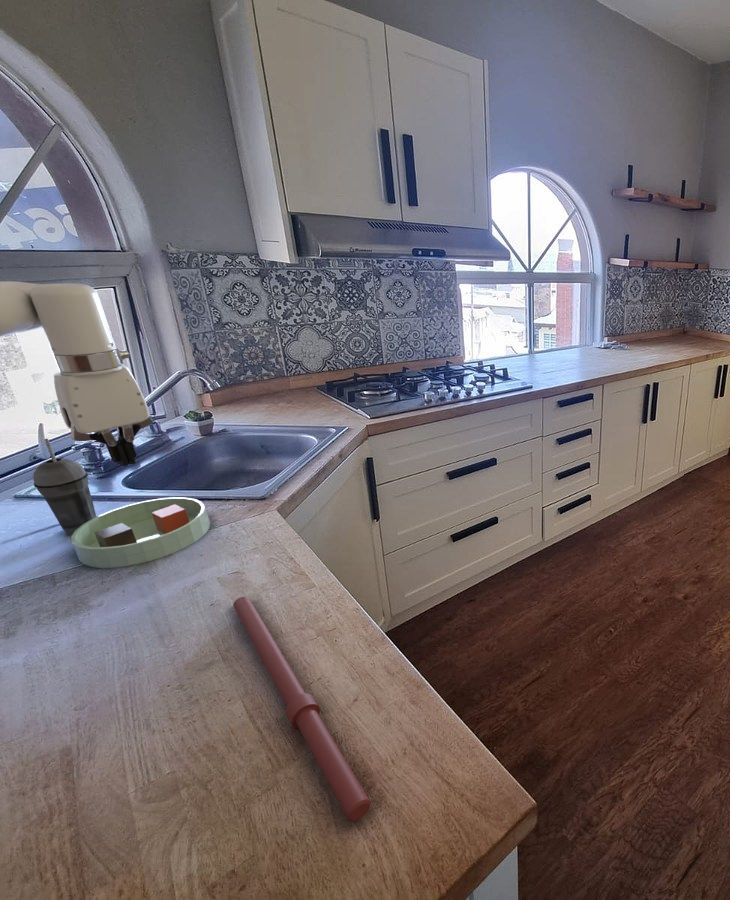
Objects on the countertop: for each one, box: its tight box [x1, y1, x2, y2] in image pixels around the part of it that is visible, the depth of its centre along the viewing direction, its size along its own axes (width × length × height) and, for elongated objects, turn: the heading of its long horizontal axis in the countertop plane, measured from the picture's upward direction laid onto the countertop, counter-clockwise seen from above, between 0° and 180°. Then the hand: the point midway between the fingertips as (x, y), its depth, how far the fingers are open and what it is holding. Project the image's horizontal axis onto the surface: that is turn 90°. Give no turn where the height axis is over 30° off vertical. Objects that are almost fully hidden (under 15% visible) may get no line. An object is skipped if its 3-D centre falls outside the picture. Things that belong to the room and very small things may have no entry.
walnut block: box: [95, 523, 137, 547], centre depth 92 cm, size 4×4×4 cm
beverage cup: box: [32, 438, 97, 536], centre depth 96 cm, size 7×7×20 cm
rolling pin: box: [232, 596, 371, 822], centre depth 65 cm, size 45×3×3 cm, turn 46°
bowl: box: [70, 496, 211, 569], centre depth 96 cm, size 19×19×4 cm
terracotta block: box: [152, 505, 189, 534], centre depth 100 cm, size 4×4×4 cm
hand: (126, 463), depth 90 cm, fingers closed
